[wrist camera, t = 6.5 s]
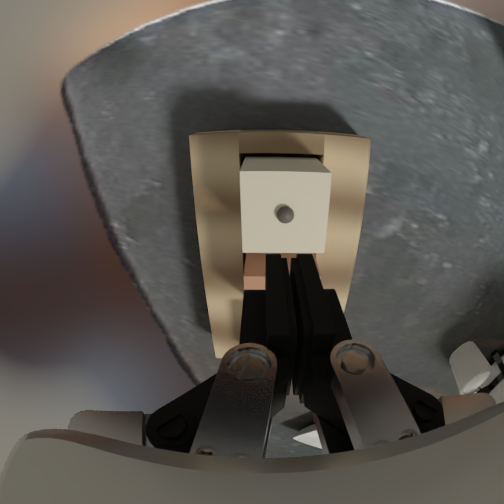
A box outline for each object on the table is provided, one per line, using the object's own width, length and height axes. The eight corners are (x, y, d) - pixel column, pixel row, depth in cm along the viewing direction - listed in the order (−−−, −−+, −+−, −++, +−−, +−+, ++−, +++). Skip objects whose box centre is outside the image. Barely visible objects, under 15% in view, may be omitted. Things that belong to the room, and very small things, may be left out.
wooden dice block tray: (198, 132, 20) (189, 135, 18) (357, 134, 20) (370, 138, 17) (219, 338, 32) (216, 357, 29) (327, 338, 31) (331, 357, 28)
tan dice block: (247, 241, 23) (243, 277, 18) (310, 242, 22) (321, 278, 18) (249, 292, 25) (245, 332, 21) (305, 292, 25) (312, 332, 20)
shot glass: (439, 363, 35) (453, 395, 28) (466, 335, 31) (484, 366, 25) (457, 367, 36) (470, 395, 30) (482, 341, 32) (498, 369, 26)
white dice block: (245, 156, 19) (239, 172, 15) (316, 158, 19) (332, 173, 14) (247, 221, 22) (242, 254, 17) (312, 222, 22) (324, 254, 17)
